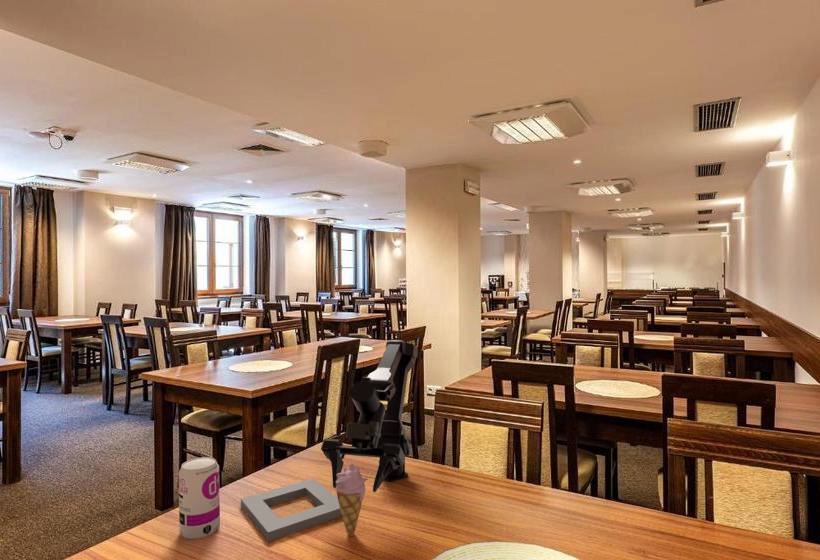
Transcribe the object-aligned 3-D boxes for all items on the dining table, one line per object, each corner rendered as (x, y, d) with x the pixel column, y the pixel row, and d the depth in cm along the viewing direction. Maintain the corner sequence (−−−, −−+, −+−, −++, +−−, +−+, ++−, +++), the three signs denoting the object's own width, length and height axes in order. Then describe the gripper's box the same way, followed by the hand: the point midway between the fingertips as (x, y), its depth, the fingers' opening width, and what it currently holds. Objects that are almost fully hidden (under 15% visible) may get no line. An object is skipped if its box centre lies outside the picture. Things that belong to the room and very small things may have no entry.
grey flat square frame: (313, 485, 128) (313, 478, 128) (347, 514, 113) (347, 505, 113) (240, 506, 117) (240, 498, 117) (268, 541, 102) (267, 532, 102)
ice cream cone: (370, 527, 107) (369, 460, 106) (364, 543, 100) (363, 472, 100) (340, 526, 107) (339, 459, 107) (333, 542, 101) (332, 471, 101)
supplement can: (228, 524, 109) (226, 458, 109) (201, 543, 101) (199, 472, 101) (199, 518, 112) (198, 454, 111) (171, 537, 104) (169, 468, 104)
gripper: (323, 404, 112) (302, 470, 102) (400, 409, 108) (387, 478, 97) (337, 427, 120) (318, 491, 109) (409, 432, 115) (397, 499, 105)
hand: (353, 489), depth 105 cm, fingers open, 9 cm apart
